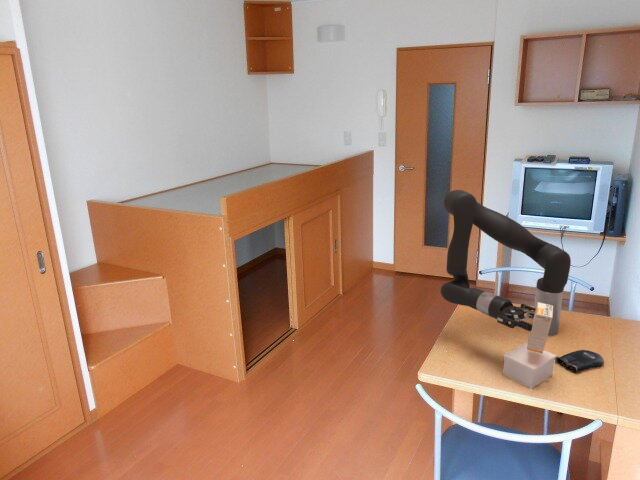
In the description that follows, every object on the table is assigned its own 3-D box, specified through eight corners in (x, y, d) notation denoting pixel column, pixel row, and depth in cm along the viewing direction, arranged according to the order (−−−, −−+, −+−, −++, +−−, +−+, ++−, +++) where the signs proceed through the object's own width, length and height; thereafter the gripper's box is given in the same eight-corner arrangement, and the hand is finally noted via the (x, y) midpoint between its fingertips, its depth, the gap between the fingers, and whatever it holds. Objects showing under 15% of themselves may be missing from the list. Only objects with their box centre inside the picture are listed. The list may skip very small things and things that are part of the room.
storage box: (523, 361, 168) (526, 342, 166) (553, 375, 160) (556, 355, 158) (501, 374, 161) (503, 354, 159) (531, 389, 153) (534, 369, 151)
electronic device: (577, 381, 159) (610, 364, 164) (576, 365, 158) (609, 349, 163) (554, 370, 168) (586, 354, 173) (552, 355, 167) (584, 340, 172)
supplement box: (543, 354, 151) (553, 318, 146) (526, 349, 153) (535, 313, 147) (544, 340, 158) (553, 305, 152) (528, 336, 160) (537, 301, 154)
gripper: (481, 301, 160) (527, 320, 148) (508, 290, 168) (553, 307, 156) (479, 322, 163) (524, 342, 150) (505, 310, 171) (550, 328, 158)
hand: (539, 324), depth 153 cm, fingers closed on supplement box, 8 cm apart
